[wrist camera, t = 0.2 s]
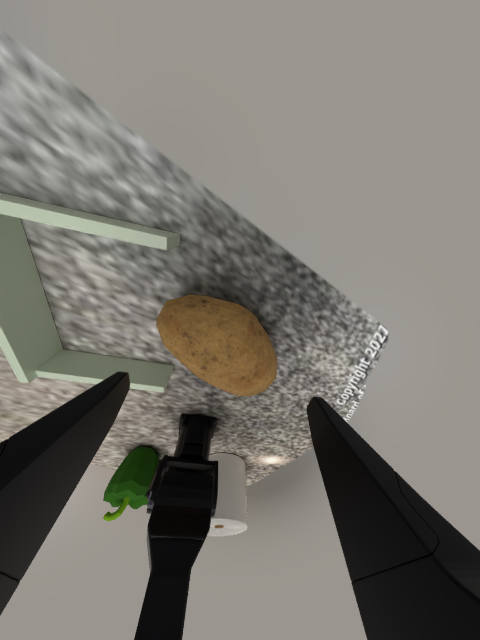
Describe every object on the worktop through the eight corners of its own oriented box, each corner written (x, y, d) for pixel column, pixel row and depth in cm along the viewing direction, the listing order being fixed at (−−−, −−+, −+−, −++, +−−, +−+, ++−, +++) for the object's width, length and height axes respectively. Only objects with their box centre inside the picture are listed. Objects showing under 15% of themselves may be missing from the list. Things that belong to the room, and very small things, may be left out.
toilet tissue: (254, 460, 41) (259, 525, 32) (225, 479, 46) (223, 541, 37) (215, 447, 38) (208, 515, 29) (188, 469, 43) (176, 533, 34)
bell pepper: (167, 445, 37) (146, 513, 28) (163, 463, 41) (143, 529, 32) (125, 439, 36) (89, 509, 27) (124, 458, 40) (92, 525, 31)
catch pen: (173, 370, 27) (161, 399, 23) (57, 353, 25) (19, 381, 21) (180, 234, 18) (162, 238, 14) (0, 192, 16) (-89, 181, 12)
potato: (204, 256, 19) (185, 277, 12) (286, 332, 24) (306, 378, 17) (155, 314, 22) (118, 357, 15) (236, 371, 27) (236, 422, 20)
